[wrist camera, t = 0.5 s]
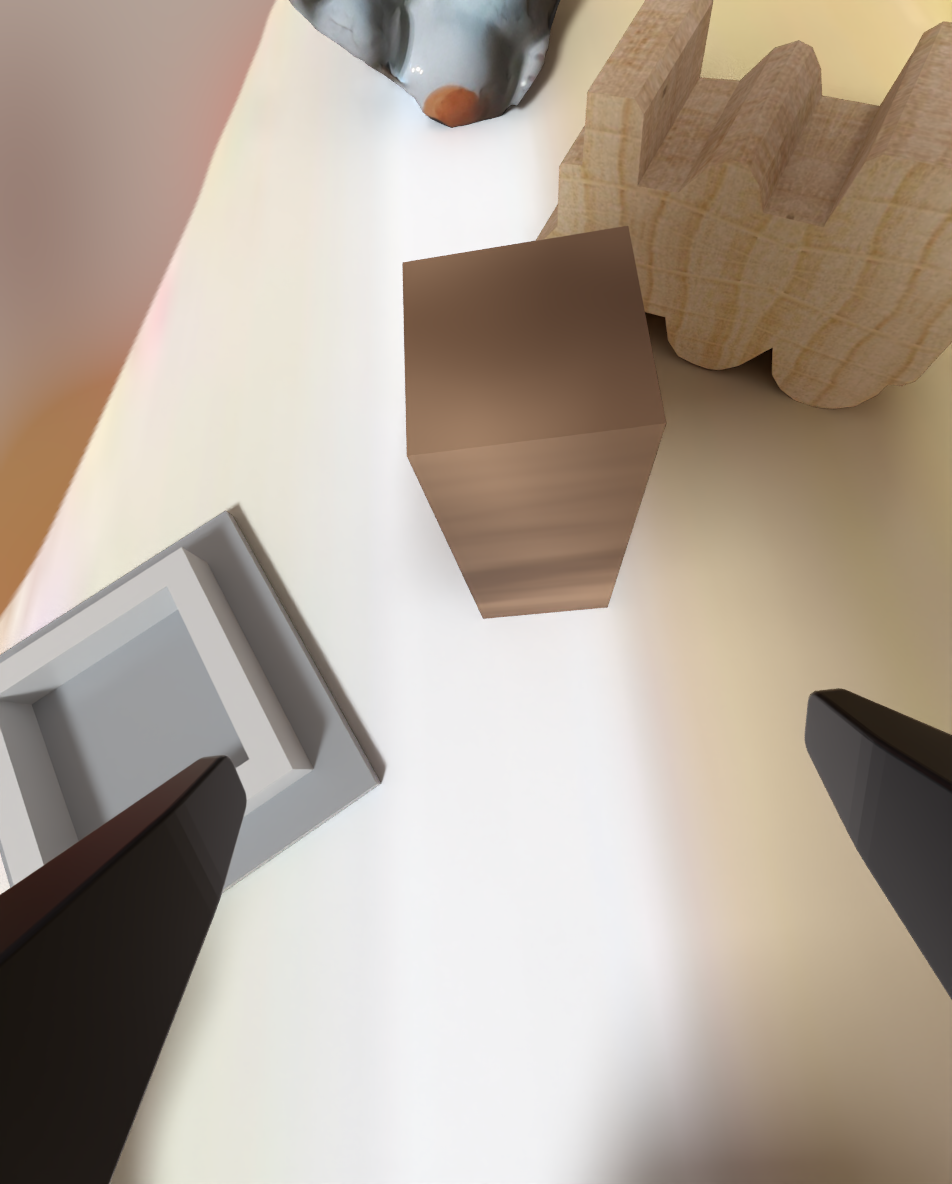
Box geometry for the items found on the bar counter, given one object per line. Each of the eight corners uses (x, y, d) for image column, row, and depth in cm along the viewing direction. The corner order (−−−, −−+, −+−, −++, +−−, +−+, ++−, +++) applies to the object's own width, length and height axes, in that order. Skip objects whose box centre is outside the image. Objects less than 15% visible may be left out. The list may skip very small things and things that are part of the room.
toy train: (577, 233, 28) (588, -35, 19) (941, 332, 24) (1189, 49, 15) (528, 315, 27) (514, 75, 18) (901, 435, 23) (1143, 201, 14)
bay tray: (381, 783, 21) (360, 784, 19) (60, 1005, 21) (-1, 1034, 18) (232, 516, 26) (202, 491, 24) (-35, 688, 25) (-94, 679, 23)
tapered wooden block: (607, 607, 22) (666, 423, 11) (483, 618, 23) (406, 456, 11) (592, 495, 24) (628, 225, 12) (476, 508, 24) (402, 262, 13)
